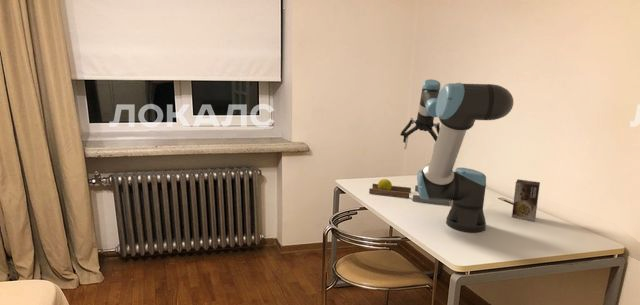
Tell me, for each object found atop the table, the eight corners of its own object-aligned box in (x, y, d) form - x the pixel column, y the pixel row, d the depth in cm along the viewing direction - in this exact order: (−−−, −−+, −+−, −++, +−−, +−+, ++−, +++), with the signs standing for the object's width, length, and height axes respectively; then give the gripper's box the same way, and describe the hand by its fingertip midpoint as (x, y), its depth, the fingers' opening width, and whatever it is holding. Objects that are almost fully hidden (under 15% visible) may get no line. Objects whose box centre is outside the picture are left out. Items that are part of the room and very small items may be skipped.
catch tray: (449, 205, 183) (449, 199, 183) (412, 201, 188) (412, 195, 188) (448, 194, 201) (449, 188, 201) (415, 190, 206) (415, 185, 206)
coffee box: (535, 217, 171) (540, 182, 167) (534, 221, 165) (539, 185, 162) (512, 213, 175) (517, 178, 172) (511, 217, 170) (515, 181, 167)
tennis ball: (393, 193, 200) (394, 180, 199) (383, 195, 197) (384, 181, 195) (384, 189, 206) (385, 177, 205) (374, 191, 203) (375, 178, 201)
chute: (408, 198, 193) (409, 193, 192) (369, 193, 198) (369, 188, 198) (410, 192, 203) (411, 187, 202) (372, 188, 209) (372, 183, 208)
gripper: (455, 113, 178) (446, 151, 190) (400, 104, 185) (395, 141, 197) (453, 121, 172) (444, 159, 184) (397, 111, 179) (392, 149, 191)
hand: (419, 150), depth 191 cm, fingers open, 13 cm apart
